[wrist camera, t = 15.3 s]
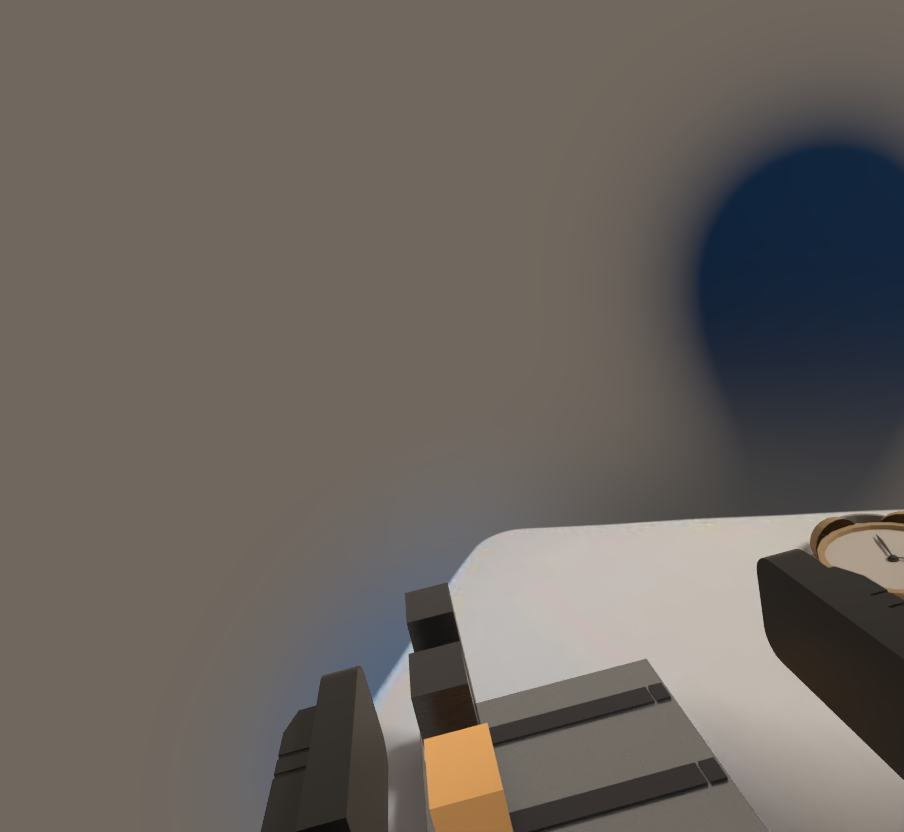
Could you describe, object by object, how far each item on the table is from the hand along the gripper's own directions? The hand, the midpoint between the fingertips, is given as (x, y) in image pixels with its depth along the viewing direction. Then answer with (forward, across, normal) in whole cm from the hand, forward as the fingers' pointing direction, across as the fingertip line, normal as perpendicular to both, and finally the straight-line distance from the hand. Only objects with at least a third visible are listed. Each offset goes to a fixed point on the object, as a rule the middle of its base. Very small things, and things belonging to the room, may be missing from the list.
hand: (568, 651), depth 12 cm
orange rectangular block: (+12, +4, +24) cm, 27 cm away
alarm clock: (+37, -35, +28) cm, 58 cm away
